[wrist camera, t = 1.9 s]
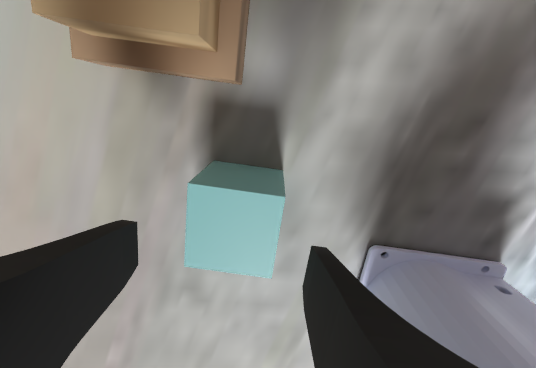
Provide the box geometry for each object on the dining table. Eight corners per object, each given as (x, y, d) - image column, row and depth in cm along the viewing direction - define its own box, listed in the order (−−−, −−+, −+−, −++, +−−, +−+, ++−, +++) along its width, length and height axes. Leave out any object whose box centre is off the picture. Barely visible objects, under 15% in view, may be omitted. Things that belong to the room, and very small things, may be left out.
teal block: (282, 170, 16) (285, 197, 11) (272, 231, 17) (271, 278, 13) (214, 160, 16) (187, 183, 11) (209, 222, 17) (184, 266, 13)
